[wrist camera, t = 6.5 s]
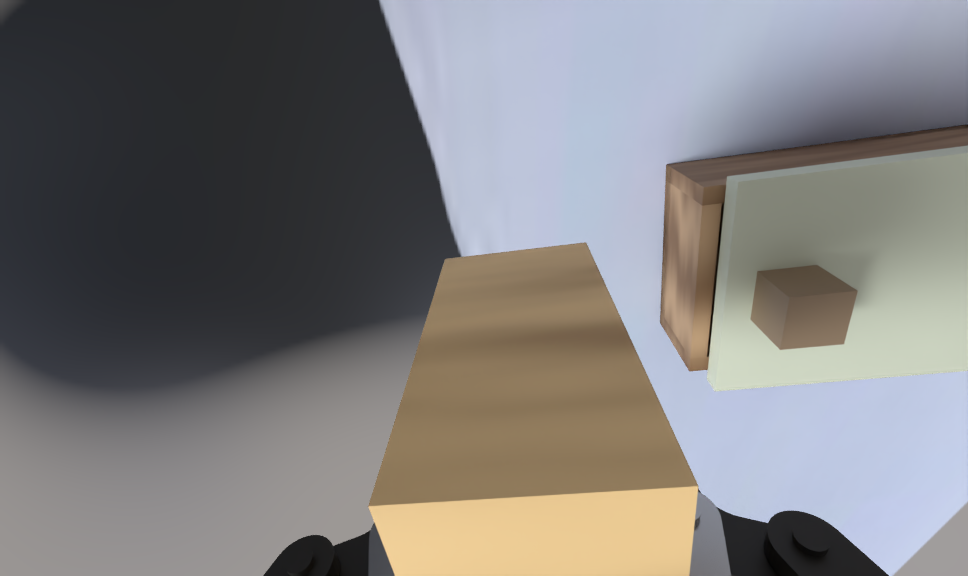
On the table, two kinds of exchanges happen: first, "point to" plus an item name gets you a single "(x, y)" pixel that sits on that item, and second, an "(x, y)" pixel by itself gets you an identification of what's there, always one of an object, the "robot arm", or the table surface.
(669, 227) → the wooden box
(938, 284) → the lid
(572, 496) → the key
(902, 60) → the table surface
